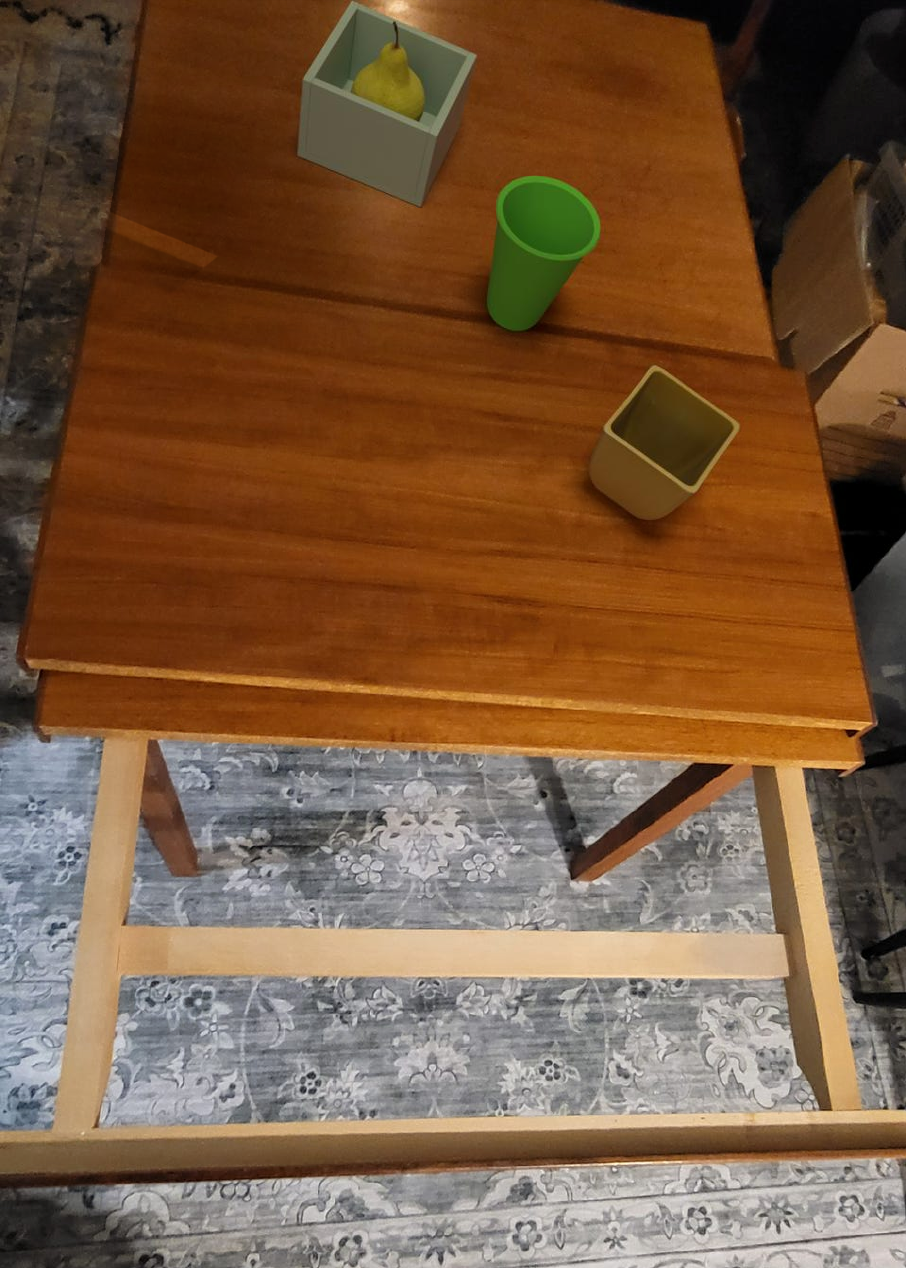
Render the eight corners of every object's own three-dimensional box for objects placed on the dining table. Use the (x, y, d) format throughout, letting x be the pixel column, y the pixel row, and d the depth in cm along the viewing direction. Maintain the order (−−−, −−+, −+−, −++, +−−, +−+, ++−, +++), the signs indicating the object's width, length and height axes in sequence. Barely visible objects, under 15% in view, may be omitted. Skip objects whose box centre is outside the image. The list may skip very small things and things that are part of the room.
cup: (480, 352, 81) (515, 260, 71) (454, 274, 84) (483, 174, 74) (570, 345, 83) (615, 255, 73) (542, 270, 86) (581, 173, 76)
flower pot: (646, 549, 76) (694, 494, 68) (563, 489, 77) (602, 427, 69) (691, 484, 80) (743, 424, 72) (612, 427, 81) (654, 361, 73)
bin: (297, 155, 85) (302, 78, 78) (342, 78, 91) (351, -1, 84) (420, 207, 86) (437, 136, 79) (458, 128, 91) (477, 54, 84)
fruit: (372, 99, 89) (390, -27, 78) (429, 135, 89) (456, 14, 78) (333, 134, 86) (347, 7, 75) (393, 171, 86) (415, 50, 75)
